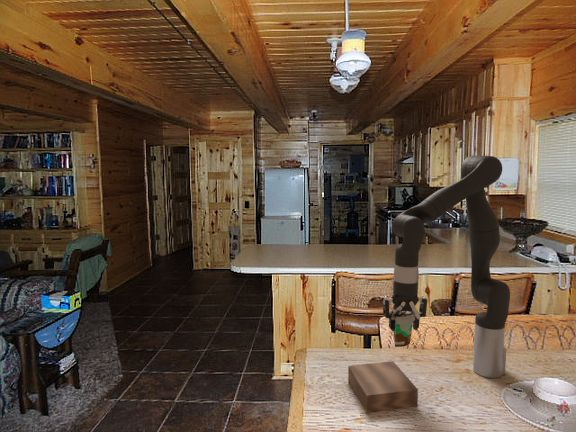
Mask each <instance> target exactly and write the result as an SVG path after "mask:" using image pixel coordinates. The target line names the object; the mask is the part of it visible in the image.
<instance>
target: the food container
mask: <svg viewBox="0 0 576 432" xmlns="http://www.w3.org/2000/svg"><path fill="white" fill-rule="evenodd" d="M414 320H415V314H414V312H412V311H400V313H399V314H398V315H396V318H395V331H392V332H393V333H392V334H393V341H394V347H395V348H396V347H397V348H402V347H403V348H404V347H406V346H409V345H410V344H411V338H412V331H413V321H414Z"/></svg>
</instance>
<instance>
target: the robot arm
mask: <svg viewBox="0 0 576 432" xmlns="http://www.w3.org/2000/svg"><path fill="white" fill-rule="evenodd" d="M502 172H503V164H502V161H501V160H500V159H499V158H498V157H495V156H493V155H469V156H468V157H466V158H465V159H464V160H463V161H462V163H461V168H460V176H461V177H460V178H461V179H459V180H458V181H456V182H454V183H451V184H449V185H447V186H444V187H442V188H440V189H438V190H436V191H434V193H432V194H430V195H429V196H428V197H426V198H425V199H424V200H422V201H421V202H420V203H419V204H417V205H414V206H413V207H409V209H406V210H404V211H402V212H401V213H399V214H398V215H397V216H396V217H395V218H394V219H393V222H392V224H391V229H392V232H393V233H394V234H395V235H396V236H398V237H400V238H402V242H401V243H402V244H401V245H398V246H397V247H396V248H395V252H394V253H395V254H394V268H393V281H392V282H393V283H392V296H391V297H389V298H388V297H387V298H386V297H383V298H382V316H384V317H385V318H386V319H388V328H389V329H390V330H391V331H392V332H394V331H395V318H396V315H398V314H399V313H400V311H412V312H414V314H415V320H414V321H413V324H412V330H415V331H418V329H419V328H420V320H421V318H425V317H427V307H428V299H427V298H426V297H425V296H420V297H419V295H418V294H419V278H420V276H419V274H420V273H419V272H420V271H419V260H420V259H419V258H420V257H419V253H420V251H421V248H422V244H423V241H424V237H425V232H426V230H425V224H429V223H430V224H431V223H433V222H435V221H437V220H438V219H440V218H441V217H442V216H444V214H446V213H447V212H448V211H449V210H451V209H452V208H454V207H456V205H458V204H460V203H461V202H463V201H464V200H465V203H466V211H467V212H466V213H467V222H468V237H469V244H470V245H469V246H470V258H471V259H470V260H471V264H470V265H471V266H470V267H471V271H470V273H471V275H470V276H471V277H470V278H471V279H470V291H471V295H472V298H473V300H475V301H476V302H478V303H481V304H484V305H486V306H487V307H486V311H482V312H478V313H477V314H475V320H474V321H475V322H474V340H473V341H474V342H473V343H474V344H473V363H472V365H473V366H472V367H473V368H472V370H473V372H474V373H476V374H477V375H479V376H481V377H484V378H489V379H491V378H492V379H498V378H500V377H502V376H503V375H506V364H507V362H506V361H507V347H505V333H506V331H505V330H506V321H507V320H508V317H509V309H510V302H511V301H510V299H511V290H510V286H509V285H508V284H507V283H506V282H505V281H501V280H498V279H495V278H493V277H492V276H491V271H490V270H491V269H490V268H491V266H490V264H491V260H492V258H493V256H494V255H495V254H496V252H497V251H498V248H499V245H500V241H501V239H500V238H501V235H500V223H499V220H498V218H497V215H496V213H495V212H494V209H493V207H491V204H490V203H489V201H488V199H487V196H486V191H485V189H486V188H487V187H489V186H492V184H494V183H496V182H497V181H498V180H499V179H500V178H501V175H502V174H503V173H502ZM392 303H393V306H392V307H391V311H390V306H391V304H392ZM418 303H419V309H417V307H416V305H418Z"/></svg>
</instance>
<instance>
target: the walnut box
mask: <svg viewBox="0 0 576 432" xmlns="http://www.w3.org/2000/svg"><path fill="white" fill-rule="evenodd" d="M347 367H348V368H347V369H348V370H347V371H348V375H347V377H348V379H347V380H348V381H347V382H348V383H349V385H350V387H351V388H352V390H353V392H354V394H355V396H356V397H357V399H358V400H359V402H360V404H361V406H362V408H363V409H364V411H365V413H366V414H371V413H372V414H373V413H379V412H387V411H395V410H403V409H404V410H405V409H411V408H418V406H419V405H418V401H419V400H418V397H419V395H418V393H419V390H418V387H416V385H414V383H413V382H412V381H411V380H410V378H409V377H408V376H407V375H406V374H405V372H403V370H402V369H400V367H399V366H398V365H397V364H396V363H395V361H393V360H392V361H383V362H382V361H381V362H374V363H373V362H372V363H363V364H354V365H348V366H347Z"/></svg>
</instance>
